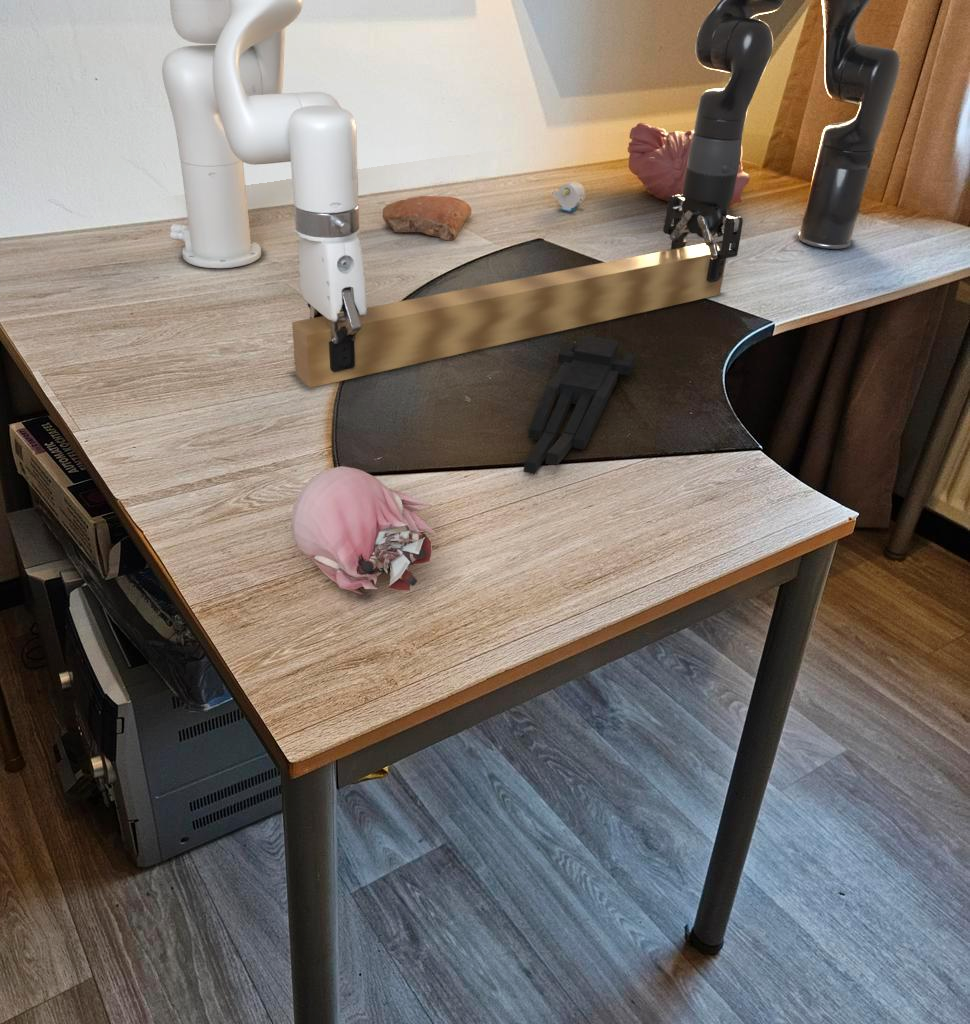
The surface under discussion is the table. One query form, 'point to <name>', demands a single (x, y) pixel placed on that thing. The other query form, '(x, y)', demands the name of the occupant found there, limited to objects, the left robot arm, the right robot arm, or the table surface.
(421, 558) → the pink rounded lump
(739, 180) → the fabric sculpture
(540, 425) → the toy
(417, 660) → the table surface
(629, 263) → the bar
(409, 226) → the ceramic shard
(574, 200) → the electric motor
